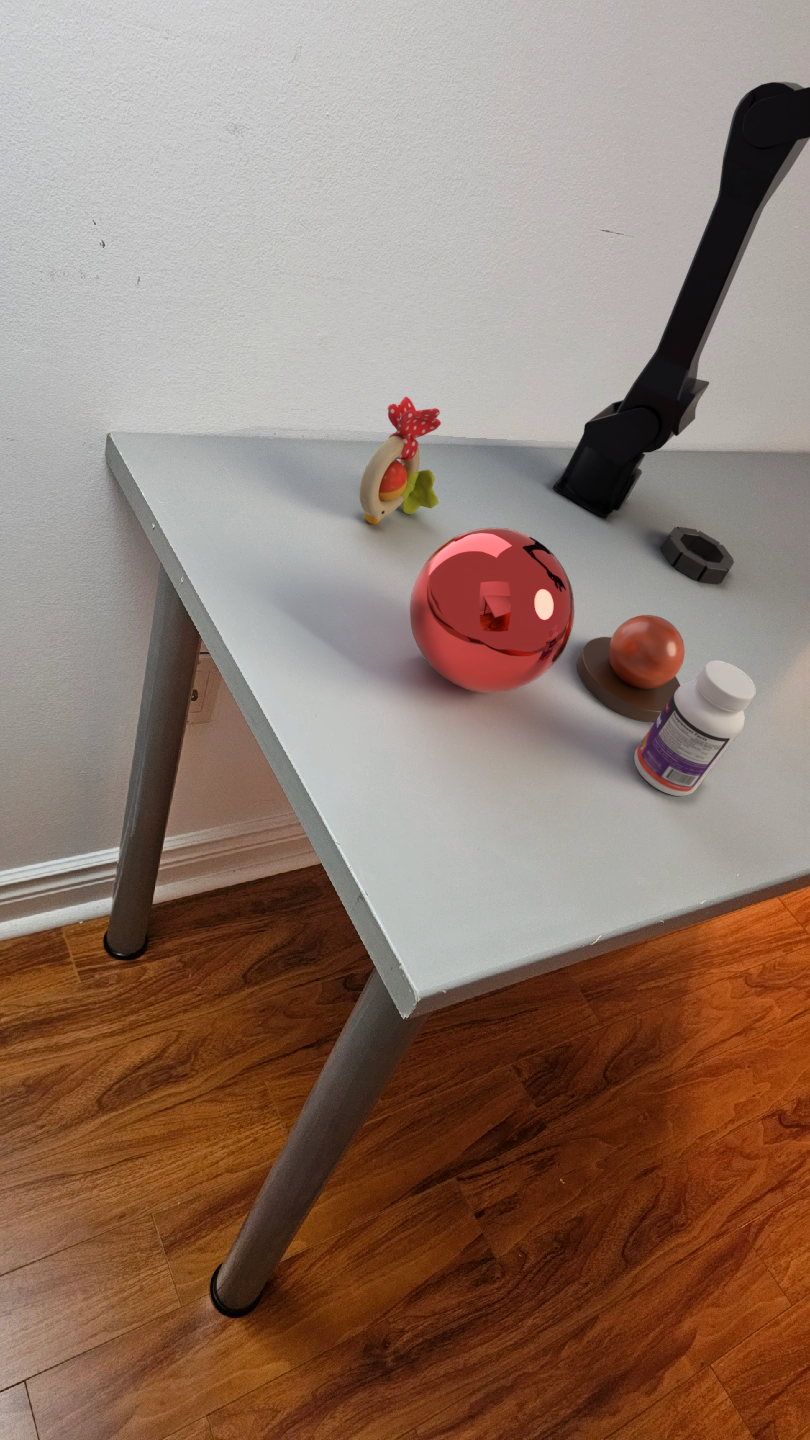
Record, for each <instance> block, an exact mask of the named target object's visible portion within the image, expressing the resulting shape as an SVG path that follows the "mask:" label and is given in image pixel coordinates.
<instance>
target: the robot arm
mask: <svg viewBox="0 0 810 1440" xmlns="http://www.w3.org/2000/svg"><path fill="white" fill-rule="evenodd" d="M809 140H810V86H808V87H803V86H802V85H800V84H799V83H797V82H789V81H770V82H767V83H761V84H759V85H758V86H756V87H754V88H753V89H751V90H749V91H748V92H746V93H745V94H744V96H743V97H742V98H740V100H739V102H738V104H737V105H736V107H735V109H734V111H733V114H732V118H731V122H730V125H729V131H728V135H727V139H726V144H725V148H724V151H723V152H724V153H723V156H722V163H721V171H720V172H721V173H720V180H719V182H720V183H719V189H718V194H717V197H716V201H715V203H714V206H713V208H712V211H711V213H710V215H709V218H708V221H707V223H706V225H705V229H704V230H703V233H702V235H701V238H700V241H699V243H698V245H697V248H696V250H695V253H694V256H693V258H692V260H691V263H690V266H689V268H688V270H687V273H686V275H685V278H684V281H683V283H682V286H681V287H680V291H679V293H678V296H677V297H676V300H675V303H674V306H673V308H672V310H671V313H670V316H669V318H668V321H667V323H666V325H665V328H664V331H663V333H662V335H661V338H660V341H659V343H658V345H657V348H656V350H655V351H654V353H653V354H652V356H651V357H650V358H649V361H648V362H647V363H646V365H645V366H644V367H643V369H642V371H641V372H640V373H639V375H638V376H637V378H636V379H635V380H634V382H633V383H632V385H631V386H630V388H629V390H628V392H627V394H626V395H625V396H624V398H623V399H622V400H621V399H620V400H618V401H614V402H612V403H611V404H609V405H608V406H607V407H605V408H603V410H601V411H600V412H599V413H597V414H596V415H595V416H593V417H592V418H591V419H590V420H588V421H586V423H585V424H584V427H583V434H582V436H581V438H580V439H579V442H578V443H577V446H576V448H575V450H574V452H573V453H572V455H571V457H570V459H569V461H568V463H567V465H566V467H565V469H564V471H563V473H562V475H561V477H560V478H558V480H556V481H555V482H554V483H553V485H552V489H553V490H555V491H556V492H558V493H559V494H562V495H563V496H565V497H567V498H568V499H570V500H572V501H574V502H575V503H577V504H579V505H581V506H582V507H584V508H585V509H587V510H589V511H590V512H592V513H593V514H595V515H597V516H599V517H601V518H603V519H608V518H609V517H610V516H611V514H612V513H613V512H618V511H620V510H621V508H622V507H623V506H624V505H625V504H626V502H627V500H628V499H629V497H630V495H631V493H632V491H633V490H634V488H635V486H636V484H637V483H638V480H639V479H640V478H641V475H642V474H643V472H642V469H641V468H639V467H640V466H641V464H642V462H643V461H644V459H645V457H646V454H645V453H652V452H655V451H658V450H659V449H662V448H663V447H664V446H665V445H666V444H667V443H668V442H669V441H670V440H671V439H672V438H673V437H674V436H675V437H678V436H679V435H680V434H681V433H682V432H683V431H684V430H685V429H687V427H688V426H689V425H691V424H692V423H693V422H694V420H696V411H697V407H698V403H699V401H700V399H701V398H702V396H703V395H704V393H705V392H706V390H707V389H708V388H709V385H710V382H709V381H707V380H704V379H699V378H698V369H699V363H700V359H701V355H702V353H703V351H704V348H705V346H706V343H707V341H708V339H709V337H710V335H711V332H712V329H713V327H714V325H715V323H716V320H717V318H718V315H719V313H720V311H721V308H722V306H723V304H724V301H725V299H726V297H727V294H728V292H729V290H730V287H731V285H732V282H733V280H734V278H735V276H736V274H737V271H738V268H739V266H740V264H741V261H742V260H743V257H744V255H745V253H746V250H747V248H748V246H749V243H750V241H751V238H752V236H753V234H754V231H755V230H756V226H757V225H758V223H759V220H760V218H761V215H762V213H763V210H764V208H765V207H766V206H767V204H768V202H769V201H770V199H771V198H772V197H773V195H774V194H775V192H776V190H777V189H778V188H779V186H780V185H781V183H782V182H783V181H784V179H785V178H786V177H787V175H789V174H788V173H789V172H790V171H791V169H792V168H793V166H794V164H795V162H796V161H797V160H798V158H799V156H800V155H801V153H802V152H803V150H804V148H805V146H806V145H807V143H808V142H809Z"/></svg>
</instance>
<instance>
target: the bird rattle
mask: <svg viewBox="0 0 810 1440" xmlns="http://www.w3.org/2000/svg"><path fill="white" fill-rule="evenodd" d="M440 412H441V411H440V409H439V408H428V409H427V408H426V409H419V410H418V409H417V410H416V408H415V405H414V403H413V402H412V400H411V399H410V398H409V397H408V396H404V397H402V400H401V401H400V403H399V404H398V403H397V404H396V403H391V404H389V405H388V406H387V417H388V420H389V422H390V423H391V425H392V426H393V428H395V429H396V431H395V432H393V433H391V434H390V435H389V436H388V438H387V439H386V440H385V441H383V442H382V443H381V444H380V445H379V446H378V448H377V449H376V450H375V451H374V453H373V454H372V455H371V457H370V459H369V460H368V462H367V464H366V466H365V469H364V471H363V474H362V476H361V479H360V484H359V493H358V494H359V503H360V506H361V508H362V509H363V511H364V513H363V514H364V519H365V521H366V522H367V523H370V524H371V525H377V524H379V523H380V522H381V520H383V519H384V518H385V517H388V516H389V515H390V514H392V513H393V512H395V511H396V510H397V509H398V508H399V507H400V506H401V509H402V511H403V512H404V513H405V514H408V515H413V514H414V513H416V511H417V510H418V509H419V508H420V507H424V508H427V509H433V508H435V507H436V506H437V505H438V504H439V498H438V496H437V495H436V493H435V491H434V489H433V487H434V485H435V484H434V483H435V475H434V473H433V471H432V470H430V469H422V470H419V469H420V464H421V463H420V462H421V461H420V460H421V454H420V453H421V452H420V449H419V442H418V440H417V438H419V437H423V436H426V435H428V434H429V433H431V432H434V431H436V430H438V428H439V427H440V426H441V425H442V422H441V420H440V419H438V416H439V415H440V414H441V413H440Z"/></svg>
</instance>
